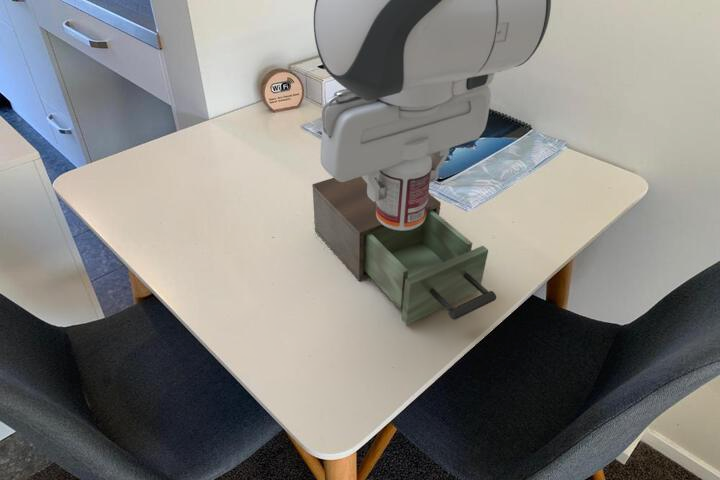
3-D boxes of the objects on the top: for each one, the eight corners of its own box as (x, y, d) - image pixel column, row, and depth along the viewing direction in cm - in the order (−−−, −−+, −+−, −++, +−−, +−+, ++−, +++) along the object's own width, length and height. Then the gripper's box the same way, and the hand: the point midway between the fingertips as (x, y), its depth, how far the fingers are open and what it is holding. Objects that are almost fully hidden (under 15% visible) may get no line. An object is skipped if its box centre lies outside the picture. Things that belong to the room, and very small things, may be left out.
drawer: (507, 314, 74) (518, 273, 69) (431, 353, 68) (438, 312, 63) (425, 241, 86) (429, 202, 82) (355, 268, 81) (356, 229, 76)
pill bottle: (425, 204, 66) (435, 122, 59) (425, 234, 61) (435, 149, 54) (377, 201, 67) (380, 119, 59) (373, 230, 62) (376, 145, 55)
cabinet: (434, 250, 86) (441, 202, 80) (359, 281, 80) (359, 232, 74) (385, 206, 96) (387, 160, 90) (314, 231, 90) (312, 184, 84)
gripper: (338, 107, 46) (340, 230, 55) (507, 65, 55) (485, 177, 63) (306, 83, 50) (312, 201, 59) (467, 47, 59) (452, 154, 68)
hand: (403, 188), depth 61 cm, fingers closed on pill bottle, 6 cm apart
